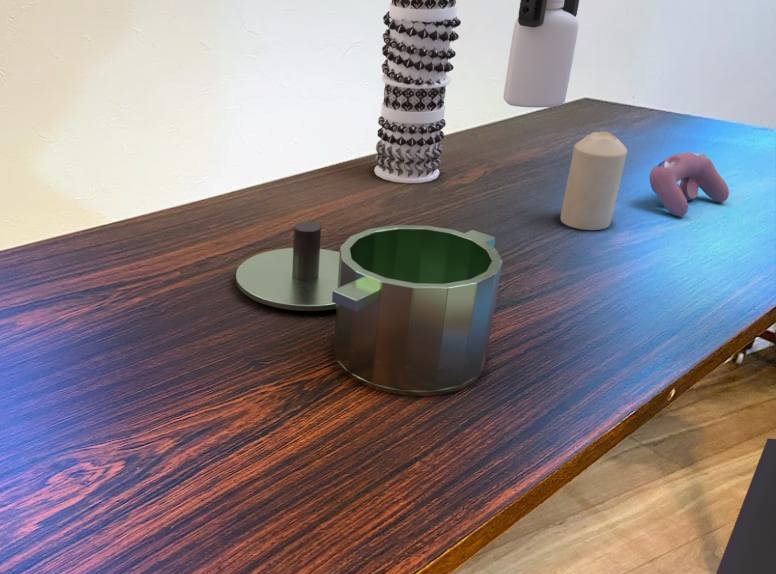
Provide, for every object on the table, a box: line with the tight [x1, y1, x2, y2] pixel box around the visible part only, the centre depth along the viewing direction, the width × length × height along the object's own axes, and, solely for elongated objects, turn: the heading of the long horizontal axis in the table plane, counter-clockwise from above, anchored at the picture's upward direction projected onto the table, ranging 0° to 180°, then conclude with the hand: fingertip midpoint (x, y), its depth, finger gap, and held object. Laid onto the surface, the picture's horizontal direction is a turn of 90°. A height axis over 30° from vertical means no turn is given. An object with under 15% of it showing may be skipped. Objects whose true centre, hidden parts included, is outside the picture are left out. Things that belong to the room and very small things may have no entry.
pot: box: [332, 224, 503, 397], centre depth 75 cm, size 13×18×10 cm
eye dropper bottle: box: [502, 0, 579, 108], centre depth 84 cm, size 4×6×12 cm
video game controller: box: [649, 151, 730, 218], centre depth 108 cm, size 10×5×7 cm, turn 124°
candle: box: [560, 131, 628, 231], centre depth 101 cm, size 6×6×10 cm
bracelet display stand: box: [373, 0, 462, 184], centre depth 112 cm, size 9×9×25 cm
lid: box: [235, 221, 340, 312], centre depth 88 cm, size 14×14×6 cm
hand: (546, 21), depth 83 cm, fingers closed on eye dropper bottle, 5 cm apart
